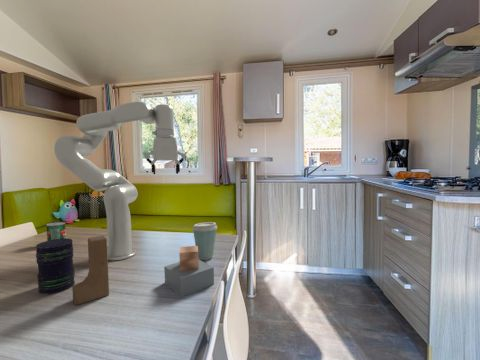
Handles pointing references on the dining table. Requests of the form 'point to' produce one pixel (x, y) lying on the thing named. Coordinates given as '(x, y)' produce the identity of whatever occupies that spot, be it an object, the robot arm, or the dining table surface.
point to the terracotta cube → (189, 258)
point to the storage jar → (55, 266)
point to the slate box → (189, 278)
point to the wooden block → (94, 273)
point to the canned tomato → (56, 231)
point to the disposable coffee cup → (205, 239)
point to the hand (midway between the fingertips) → (166, 173)
